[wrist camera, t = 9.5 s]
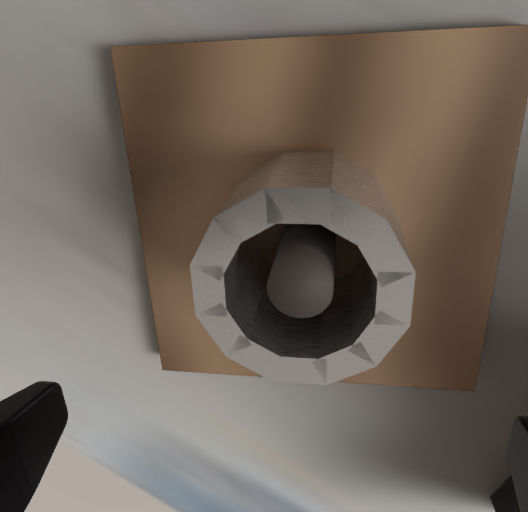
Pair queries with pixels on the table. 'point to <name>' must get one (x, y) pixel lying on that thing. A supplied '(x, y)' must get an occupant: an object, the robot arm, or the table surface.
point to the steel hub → (345, 287)
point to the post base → (349, 145)
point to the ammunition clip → (505, 497)
